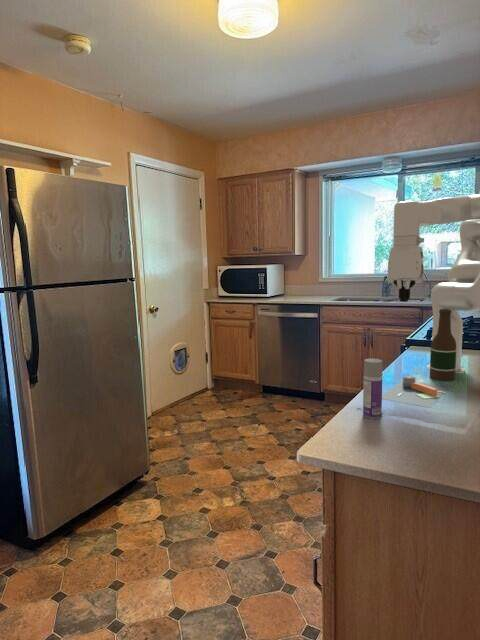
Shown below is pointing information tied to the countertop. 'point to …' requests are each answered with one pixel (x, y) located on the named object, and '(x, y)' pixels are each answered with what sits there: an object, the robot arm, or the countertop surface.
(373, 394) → the container
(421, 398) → the tuner board
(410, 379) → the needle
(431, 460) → the countertop surface
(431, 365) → the beer bottle
